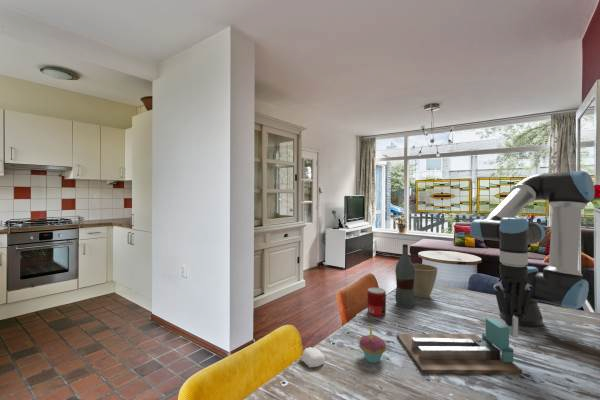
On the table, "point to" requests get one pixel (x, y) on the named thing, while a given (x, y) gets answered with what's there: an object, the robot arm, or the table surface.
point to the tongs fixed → (461, 352)
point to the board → (456, 365)
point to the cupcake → (372, 347)
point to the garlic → (313, 357)
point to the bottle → (405, 280)
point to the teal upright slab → (499, 338)
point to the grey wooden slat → (441, 342)
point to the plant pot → (424, 280)
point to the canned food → (377, 302)
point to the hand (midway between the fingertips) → (512, 335)
